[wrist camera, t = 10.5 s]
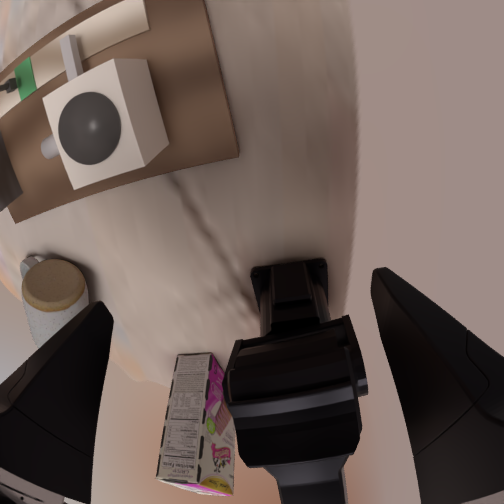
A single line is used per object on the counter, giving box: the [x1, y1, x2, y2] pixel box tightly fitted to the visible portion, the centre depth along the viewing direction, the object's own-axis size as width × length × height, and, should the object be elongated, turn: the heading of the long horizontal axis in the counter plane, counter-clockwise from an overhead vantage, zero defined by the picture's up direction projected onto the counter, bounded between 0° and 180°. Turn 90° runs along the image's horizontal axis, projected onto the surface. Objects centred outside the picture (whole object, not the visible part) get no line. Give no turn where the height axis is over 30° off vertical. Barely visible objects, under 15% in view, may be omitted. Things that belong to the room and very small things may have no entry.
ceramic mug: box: [20, 257, 89, 348], centre depth 23 cm, size 11×8×8 cm
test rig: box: [0, 0, 239, 224], centre depth 13 cm, size 14×23×7 cm, turn 101°
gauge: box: [41, 34, 169, 190], centre depth 13 cm, size 10×8×5 cm
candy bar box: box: [156, 353, 235, 496], centre depth 29 cm, size 11×5×16 cm, turn 14°
